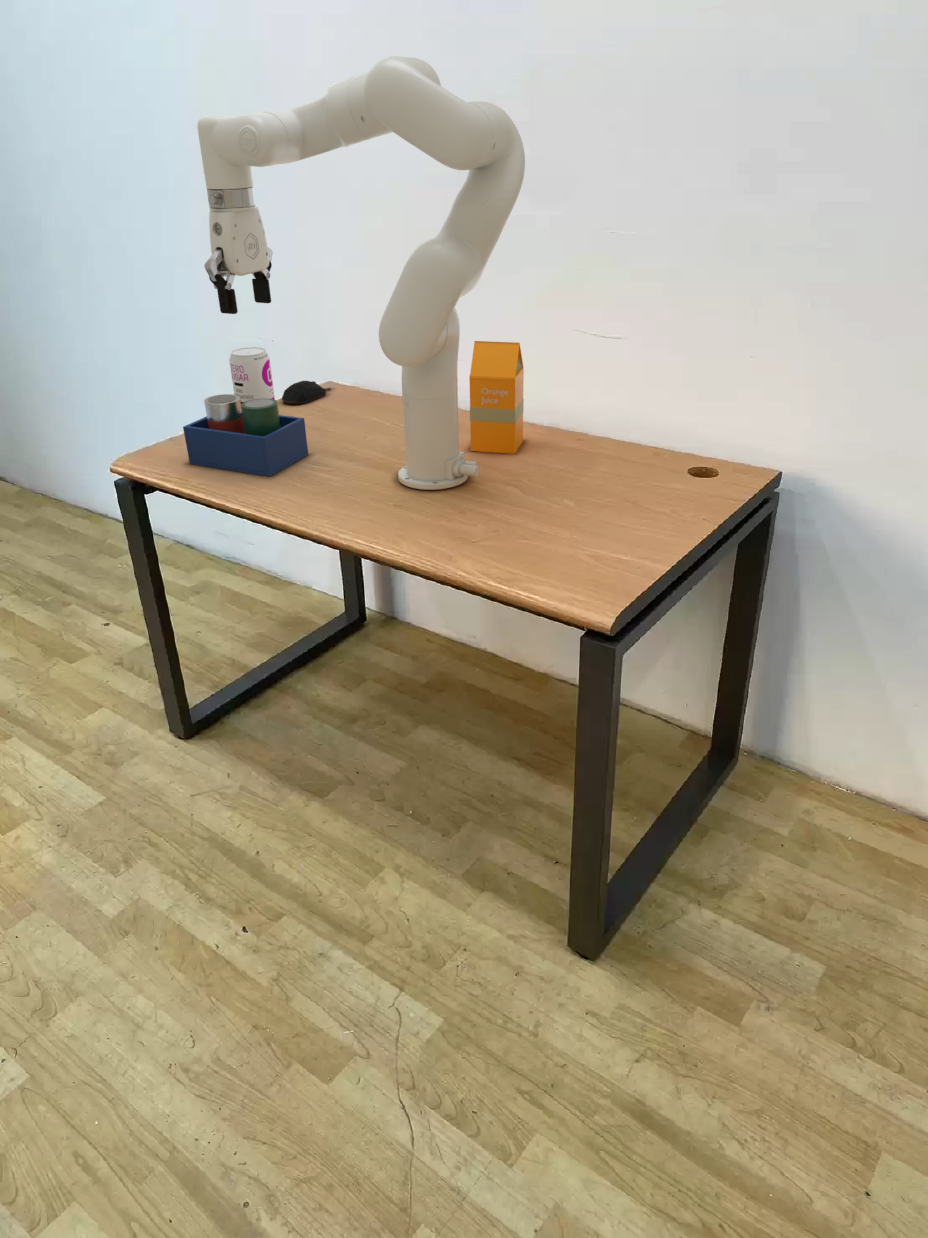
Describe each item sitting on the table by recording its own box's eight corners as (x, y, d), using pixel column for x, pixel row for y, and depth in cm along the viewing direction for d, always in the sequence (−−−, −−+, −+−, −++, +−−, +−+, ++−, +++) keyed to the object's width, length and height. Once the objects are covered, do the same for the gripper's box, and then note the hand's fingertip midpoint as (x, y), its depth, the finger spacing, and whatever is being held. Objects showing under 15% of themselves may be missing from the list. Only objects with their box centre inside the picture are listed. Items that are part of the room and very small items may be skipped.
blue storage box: (308, 454, 174) (304, 417, 171) (270, 476, 165) (265, 438, 161) (230, 443, 181) (225, 407, 178) (189, 463, 171) (182, 426, 168)
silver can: (255, 449, 176) (247, 395, 170) (234, 460, 170) (225, 405, 165) (227, 445, 178) (219, 392, 173) (205, 455, 173) (196, 401, 168)
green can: (291, 454, 172) (284, 400, 167) (271, 465, 167) (263, 409, 162) (262, 450, 175) (255, 396, 170) (241, 461, 170) (233, 406, 164)
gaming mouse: (340, 391, 213) (338, 374, 211) (296, 407, 202) (294, 389, 200) (320, 387, 216) (318, 370, 214) (276, 403, 205) (274, 385, 203)
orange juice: (515, 454, 172) (515, 347, 162) (470, 451, 174) (468, 345, 164) (523, 440, 178) (524, 337, 168) (480, 438, 181) (478, 336, 171)
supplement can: (281, 416, 196) (273, 346, 189) (271, 428, 189) (261, 356, 182) (245, 416, 197) (235, 346, 190) (233, 428, 190) (222, 356, 183)
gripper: (216, 205, 141) (233, 319, 149) (280, 195, 154) (292, 299, 163) (179, 205, 143) (197, 316, 152) (245, 195, 157) (258, 297, 165)
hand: (246, 307), depth 157 cm, fingers open, 9 cm apart
